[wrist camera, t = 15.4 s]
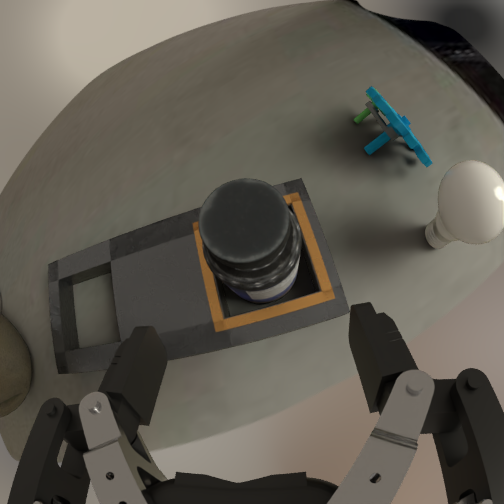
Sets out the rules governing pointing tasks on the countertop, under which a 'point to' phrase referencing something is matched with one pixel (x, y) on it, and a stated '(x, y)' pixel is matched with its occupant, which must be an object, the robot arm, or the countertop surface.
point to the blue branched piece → (390, 126)
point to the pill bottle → (251, 239)
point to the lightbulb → (468, 206)
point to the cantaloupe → (13, 368)
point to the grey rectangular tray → (185, 290)
